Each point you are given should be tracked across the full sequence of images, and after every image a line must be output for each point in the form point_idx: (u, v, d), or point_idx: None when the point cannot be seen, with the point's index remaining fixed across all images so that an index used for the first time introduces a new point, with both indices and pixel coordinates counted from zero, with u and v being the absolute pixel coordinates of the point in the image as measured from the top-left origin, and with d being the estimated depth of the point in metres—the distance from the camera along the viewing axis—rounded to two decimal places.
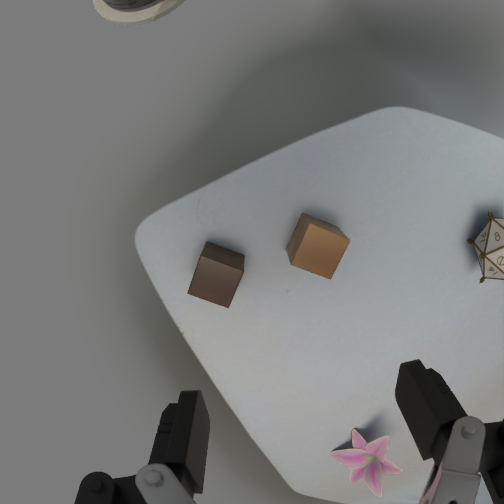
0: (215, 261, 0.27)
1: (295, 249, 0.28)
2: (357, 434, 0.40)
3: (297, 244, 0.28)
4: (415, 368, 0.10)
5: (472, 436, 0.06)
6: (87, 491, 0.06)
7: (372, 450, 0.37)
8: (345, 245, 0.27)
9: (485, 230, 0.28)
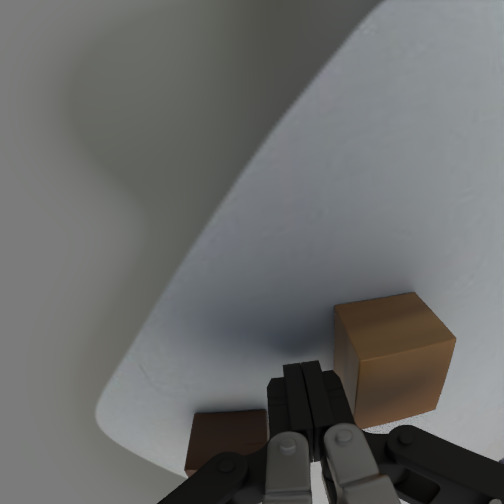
0: None
1: (350, 401, 0.11)
2: None
3: (350, 392, 0.11)
4: (310, 368, 0.11)
5: (344, 444, 0.08)
6: (214, 468, 0.07)
7: None
8: (449, 352, 0.10)
9: None
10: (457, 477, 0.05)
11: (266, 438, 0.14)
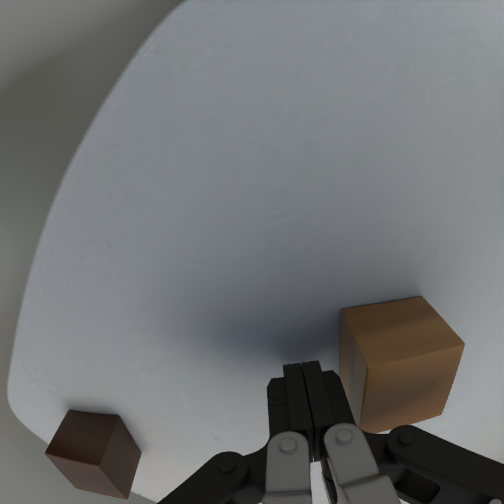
0: (61, 458, 0.12)
1: (356, 407, 0.11)
2: None
3: (356, 397, 0.11)
4: (310, 368, 0.11)
5: (344, 444, 0.08)
6: (214, 468, 0.07)
7: None
8: (457, 357, 0.09)
9: None
10: (457, 477, 0.05)
11: (108, 440, 0.14)
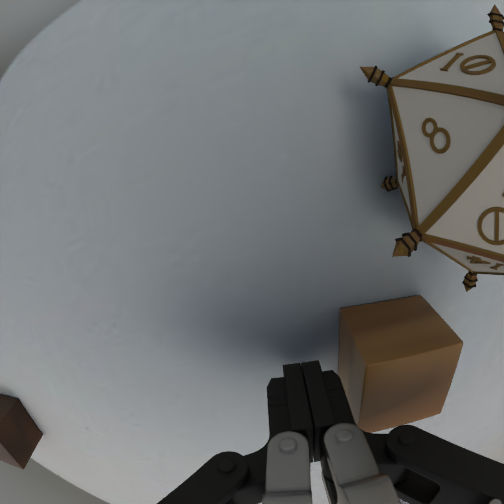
0: None
1: (355, 405, 0.11)
2: None
3: (355, 396, 0.11)
4: (310, 368, 0.11)
5: (344, 444, 0.08)
6: (214, 468, 0.07)
7: None
8: (456, 356, 0.10)
9: (396, 134, 0.08)
10: (457, 477, 0.05)
11: (5, 416, 0.14)
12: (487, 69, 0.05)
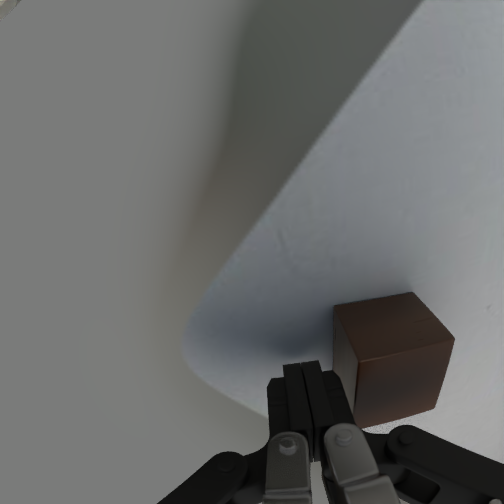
0: (394, 355, 0.10)
1: None
2: None
3: None
4: (310, 368, 0.11)
5: (344, 444, 0.08)
6: (214, 468, 0.07)
7: None
8: None
9: None
10: (457, 477, 0.05)
11: (432, 313, 0.11)
12: None
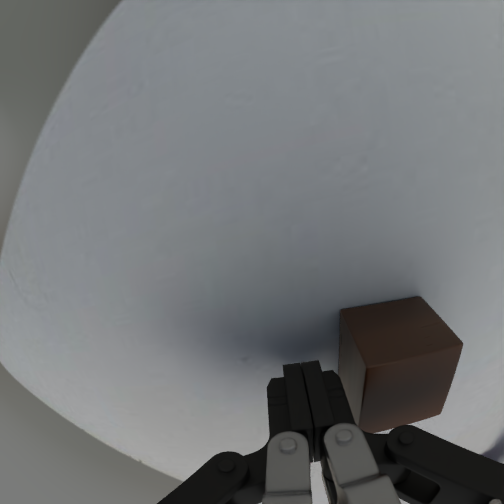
0: (402, 360, 0.09)
1: None
2: None
3: None
4: (310, 368, 0.11)
5: (344, 444, 0.08)
6: (214, 468, 0.07)
7: None
8: None
9: None
10: (457, 477, 0.05)
11: (440, 318, 0.11)
12: None
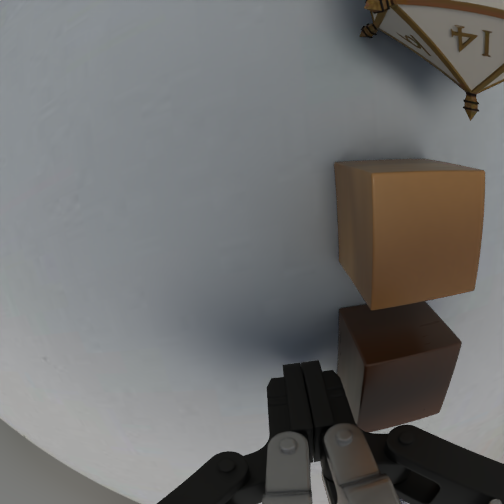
0: (401, 359, 0.10)
1: (364, 264, 0.09)
2: None
3: (363, 248, 0.09)
4: (310, 368, 0.11)
5: (344, 444, 0.08)
6: (214, 468, 0.07)
7: None
8: (480, 190, 0.08)
9: None
10: (457, 477, 0.05)
11: (439, 317, 0.11)
12: None
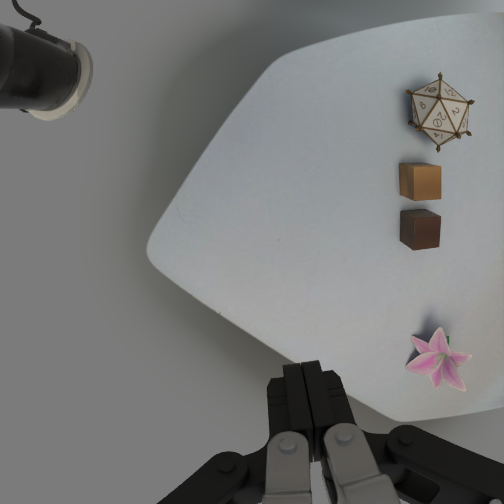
0: (423, 218, 0.34)
1: (411, 189, 0.33)
2: (416, 339, 0.43)
3: (411, 185, 0.33)
4: (311, 368, 0.11)
5: (344, 444, 0.08)
6: (214, 468, 0.07)
7: (436, 348, 0.40)
8: (439, 171, 0.32)
9: (413, 106, 0.30)
10: (457, 477, 0.05)
11: None
12: (434, 90, 0.27)
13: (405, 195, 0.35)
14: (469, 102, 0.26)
